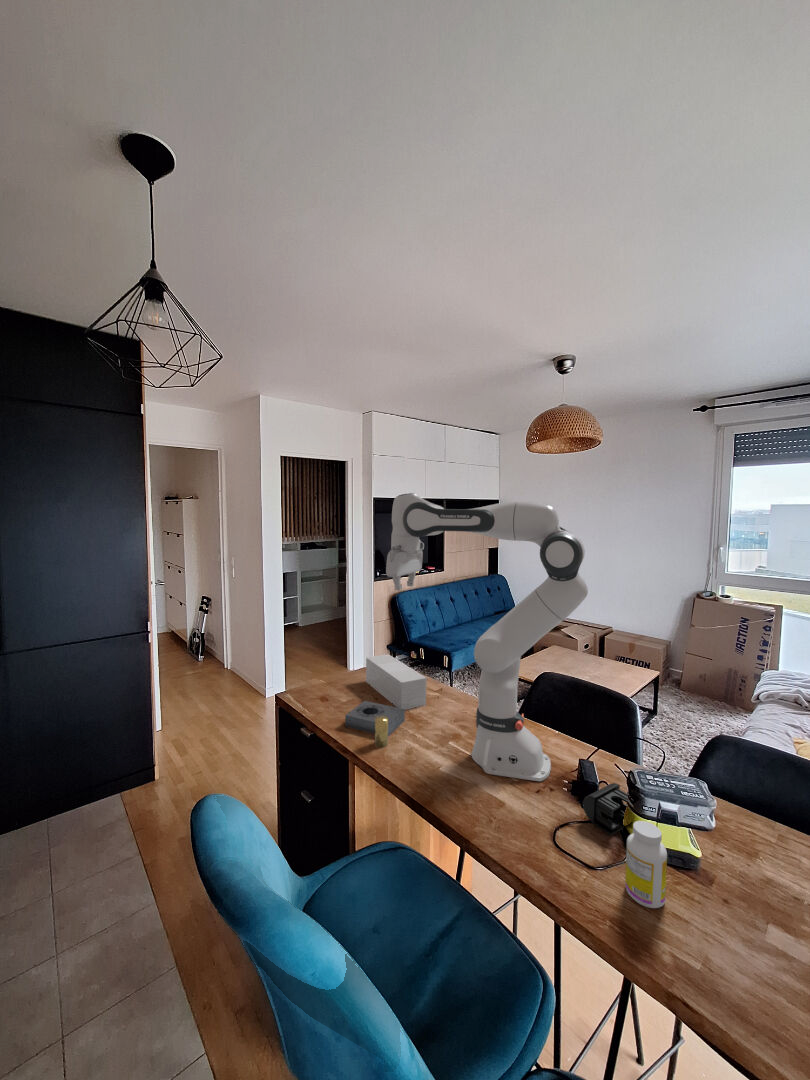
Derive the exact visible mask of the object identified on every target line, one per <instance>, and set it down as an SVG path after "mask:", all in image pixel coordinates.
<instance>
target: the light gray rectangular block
mask: <svg viewBox="0 0 810 1080" xmlns="http://www.w3.org/2000/svg"><path fill="white" fill-rule="evenodd" d="M365 659H366V660H365V683H367V684H368V685H369V684H370V685H369V686H370V687H372V688H373V689H374V690H376V691H377V693H379V694H380V695H381V696H383V697H384V698H385V699H386V700H388V701H389V702H390V703H391V704H392V703H393V704H392V705H394V707H396V708H401V709H405V711H406V710H410V709H415V707H416V708H420V707H424V706H427V684H428V683H427V680H428V679H427V677H426V676H424V675H422V674H421V673H419V672H417V671H416V670H415V669H413V668H411V667H410V666H408V665H407V664H405V663H403V662H402V661H400V660H398V659H397V658H396V657H393V656H392V655H390V654H389V653H388V654H381V655H374V656H373V655H372V656H367V657H366V658H365Z"/></svg>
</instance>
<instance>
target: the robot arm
mask: <svg viewBox="0 0 810 1080" xmlns="http://www.w3.org/2000/svg"><path fill="white" fill-rule="evenodd" d="M392 503H393V504H392V511H391V525H392V532H391V540H390V541H391V545H390V546H391V547H390V548H391V549H390V550H389V552H388V553H387V556H386V567H385V574H386V576H387V578H389V577H390V578H392V581H393V584H394V591H397V592H398V591H401V590H402V587H403V586H402V585H403V584H401V579H402V577H401V576H405V575H408V578H407V580H406V586H407V587H413V586H414V585H415V580H416V579H415V578H416V574H417V573H418V572H421V571H422V567H423V555H424V554H423V550H424V548H425V543H424V542H422V541H421V539H420V538H421V537H422V538H423V537H426V536H436V535H440V534H442V533H444V532H463V533H465V532H467V533H471V534H472V533H473V534H477V535H482V536H486V537H490V538H494V539H497V540H498V539H499V540H503V541H504V540H505V541H511V542H513V541H515V542H516V541H517V542H518V541H519V542H521V541H522V542H531V543H534V544H536V545H538V546H539V547H540V548H539V558H540V561H541V562H540V563H541V564H542V566H543V568H544V569H545V571H546V574H547V575H548V576H547V578H546V579H545V580H544V581H543V582H542V583H541V584H539V585H538V586H537V587H535V589H534V590H532V591H531V592H530V593H529V594H528V595H527V596H525V597H524V598H523V599H522V600H521V601H520V602H518V603H517V604H516V605H515V606H514V607H513V608H512V609H510V611H508V612H507V613H506V614H504V615H503V616H502V617H501V618H500V619H499V620H498V621H496V622H495V623H494V624H493V625H491V626H490V627H489V628H488V629H487V630H485V632H483V634H482V635H480V637H479V638H478V639H477V640H476V643H475V646H474V649H473V657H474V660H475V664H477V666H478V667H479V668H480V669H481V672H480V678H479V680H478V703H477V704H478V705H477V708H476V713H475V716H476V717H475V724H476V734H475V739H474V740H475V741H474V744H473V748H472V751H471V754H470V755H471V758H472V760H473V761H474V762H475V763H476V764H477V765H478V766H480V767H481V769H482V770H483V771H484V773H486V774H488V775H493V776H499V777H508V778H514V779H519V780H527V781H535V782H542V781H544V780H546V779H547V778H548V777H549V775H550V772H551V770H552V762H551V759H550V757H549V756H548V755H547V754H546V753H544V752H543V747H542V743H541V740H540V739H539V738H538V737H537V736H536V735H534V734H533V733H532V732H531V731H530V730H529V729H528V728H526V727H525V726H524V725H525V724H524V720H525V719H524V713H522V714H520V713H519V711H517V709H518V708H517V707H518V687H519V685H518V684H519V676H520V670H521V669H520V668H521V658H522V656H523V655H524V654H525V653H527V651H528V650H530V649H531V648H532V647H534V645H535V644H536V643H538V641H540V640H541V639H542V638H543V637H544V636H545V635H547V634H548V633H549V632H551V630H553V629H555V627H557V626H558V625H559V624H561V622H563V621H564V620H565V619H567V618H568V617H569V616H570V615H571V614H572V613H573V612H575V610H576V609H577V608H578V607H579V606H580V605H581V604H582V603H583V601H584V600H585V599H586V598H587V595H588V593H589V592H588V591H589V588H588V586H587V583H586V582H585V580H584V579H583V577H582V576H581V575H580V574H579V570H580V567H581V565H582V563H583V560H584V558H585V553H586V552H585V551H586V550H585V546H584V544H583V542H582V540H581V539H580V538H579V537H578V536H577V535H576V534H574V533H572V532H570V531H568V530H567V529H565V528H563V527H562V526H560V525H559V522H560V520H559V515H558V513H557V510H556V509H555V508H554V507H553V506H552V505H548V504H545V503H538V502H530V501H529V502H527V501H508V502H507V501H506V502H500V503H494V504H489V505H486V506H485V505H484V506H481V507H474V508H467V509H466V508H465V509H464V508H463V509H462V508H461V509H460V508H457V509H456V508H444V507H443V506H442V505H438V504H435V503H433V502H430V501H428V500H426V499H424V498H422V497H421V496H420V495H418V494H417V493H415V492H414V493H413V492H412V493H411V492H409V493H403V494H400V495H398V496H396V497H394V499H393V502H392ZM416 572H417V573H416Z"/></svg>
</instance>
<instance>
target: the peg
mask: <svg viewBox="0 0 810 1080" xmlns="http://www.w3.org/2000/svg"><path fill="white" fill-rule="evenodd" d="M388 745H389V737H388V718H387V717H386V716H378V717H376V718H375V734H374V746H375V747H377V748H385V747H387V746H388Z"/></svg>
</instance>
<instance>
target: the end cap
mask: <svg viewBox="0 0 810 1080" xmlns="http://www.w3.org/2000/svg"><path fill="white" fill-rule="evenodd" d="M620 785H621V784H618V783H614V782H611V783H610V784H607V785H605V786H604V787H602V788H600V789H598V790H596V791H594V792H593V793H591V794H589V795H587V796H585V797H584V799H583V801H582V807H583V812H584V813H585V815H586V816H587V818H588V820H590V822H591V823H592V824H593V825H594V826H595V827H597V828H598V829H599V830H601V831H602V832H604V833H606V834H607V835H609V836H614V835H615V834H617V833H619V832H620V831H621V830H622V829H624V828H623V827H624V826H623V819H624V814H625V810H626V806H628V803H629V802H628V795H629V793H626V792H625V791H623V790H621V789H620ZM626 803H627V804H626Z"/></svg>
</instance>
